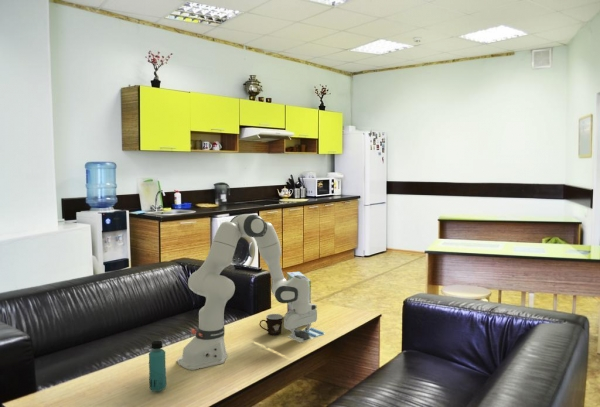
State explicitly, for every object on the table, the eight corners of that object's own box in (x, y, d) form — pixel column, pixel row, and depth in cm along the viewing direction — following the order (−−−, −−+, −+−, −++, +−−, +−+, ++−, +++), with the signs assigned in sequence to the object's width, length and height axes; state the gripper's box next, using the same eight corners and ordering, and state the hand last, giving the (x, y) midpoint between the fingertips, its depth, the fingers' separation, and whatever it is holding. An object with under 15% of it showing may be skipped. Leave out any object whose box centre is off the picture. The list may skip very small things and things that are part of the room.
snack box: (285, 314, 277) (286, 271, 274) (299, 313, 279) (300, 271, 277) (296, 327, 256) (297, 281, 254) (311, 325, 259) (312, 280, 256)
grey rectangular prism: (304, 340, 235) (304, 334, 234) (292, 335, 241) (292, 329, 241) (308, 339, 237) (308, 333, 236) (296, 334, 243) (296, 328, 243)
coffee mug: (283, 332, 248) (283, 314, 247) (281, 338, 239) (281, 319, 238) (262, 331, 249) (262, 313, 248) (259, 337, 241) (259, 318, 240)
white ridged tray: (300, 344, 232) (300, 340, 232) (287, 338, 240) (287, 334, 239) (326, 335, 244) (326, 331, 244) (312, 330, 252) (312, 326, 252)
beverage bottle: (168, 387, 187) (167, 338, 186) (164, 395, 181) (163, 345, 179) (151, 387, 187) (150, 338, 185) (146, 395, 181) (145, 345, 179)
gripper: (289, 313, 228) (289, 341, 230) (319, 304, 242) (318, 330, 244) (281, 310, 233) (280, 337, 234) (310, 302, 247) (310, 327, 248)
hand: (300, 333), depth 239 cm, fingers open, 8 cm apart
